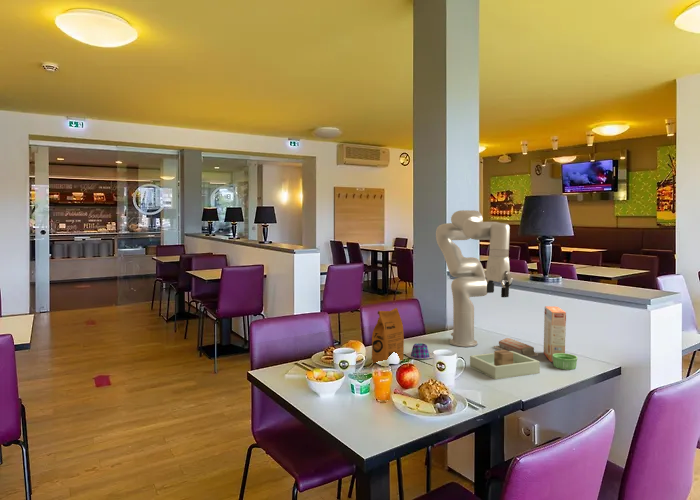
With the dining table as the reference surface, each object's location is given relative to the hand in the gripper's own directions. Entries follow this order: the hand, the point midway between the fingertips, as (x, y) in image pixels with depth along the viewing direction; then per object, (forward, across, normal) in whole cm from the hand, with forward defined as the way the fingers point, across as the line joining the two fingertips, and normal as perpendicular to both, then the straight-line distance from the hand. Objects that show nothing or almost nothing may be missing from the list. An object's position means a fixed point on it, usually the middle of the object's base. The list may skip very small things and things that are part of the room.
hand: (497, 294), depth 194 cm
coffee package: (+28, -11, -44) cm, 53 cm away
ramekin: (+27, +18, +20) cm, 38 cm away
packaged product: (+28, -7, +16) cm, 33 cm away
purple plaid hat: (+29, -15, -27) cm, 42 cm away
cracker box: (+27, +7, +24) cm, 37 cm away
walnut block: (+26, +13, -6) cm, 29 cm away
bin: (+27, +13, -6) cm, 30 cm away
